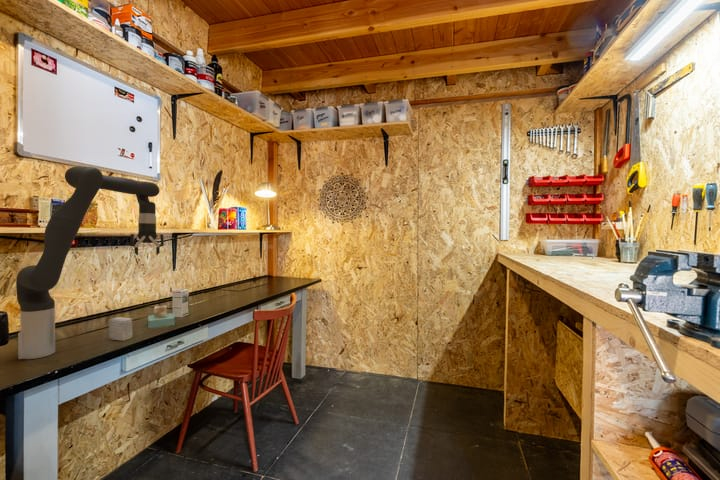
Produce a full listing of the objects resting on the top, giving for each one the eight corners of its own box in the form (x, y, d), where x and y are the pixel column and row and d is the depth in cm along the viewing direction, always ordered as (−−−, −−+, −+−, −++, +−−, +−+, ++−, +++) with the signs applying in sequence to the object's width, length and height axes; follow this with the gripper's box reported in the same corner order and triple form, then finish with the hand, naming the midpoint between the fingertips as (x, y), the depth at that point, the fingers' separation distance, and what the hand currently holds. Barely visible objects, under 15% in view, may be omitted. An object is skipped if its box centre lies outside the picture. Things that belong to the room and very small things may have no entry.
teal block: (148, 329, 159) (148, 320, 159) (148, 323, 168) (148, 315, 168) (174, 326, 165) (174, 318, 165) (173, 320, 174) (173, 313, 174)
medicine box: (132, 338, 145) (132, 318, 144) (122, 341, 140) (122, 321, 140) (118, 336, 147) (118, 316, 147) (108, 339, 143) (108, 319, 142)
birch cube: (154, 318, 163) (154, 308, 163) (155, 316, 167) (154, 306, 167) (166, 317, 165) (166, 307, 165) (166, 315, 170) (166, 305, 169)
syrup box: (182, 317, 179) (182, 290, 178) (172, 316, 180) (172, 290, 179) (189, 314, 184) (189, 288, 184) (179, 314, 185) (179, 288, 185)
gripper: (129, 222, 161) (129, 255, 162) (163, 222, 168) (163, 255, 168) (131, 222, 168) (131, 254, 168) (164, 223, 175) (164, 254, 175)
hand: (147, 254), depth 168 cm, fingers open, 8 cm apart
